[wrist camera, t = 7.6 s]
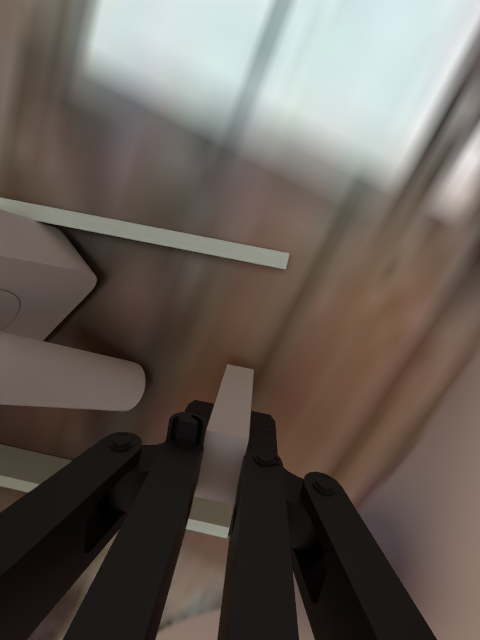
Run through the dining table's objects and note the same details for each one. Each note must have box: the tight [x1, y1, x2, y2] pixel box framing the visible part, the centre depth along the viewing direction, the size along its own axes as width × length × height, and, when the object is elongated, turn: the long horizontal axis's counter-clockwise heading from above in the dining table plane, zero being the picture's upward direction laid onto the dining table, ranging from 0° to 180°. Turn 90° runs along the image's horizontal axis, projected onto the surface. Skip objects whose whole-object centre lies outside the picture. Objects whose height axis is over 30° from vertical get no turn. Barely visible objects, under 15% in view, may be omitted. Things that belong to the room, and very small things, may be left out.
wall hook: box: [0, 209, 145, 411], centre depth 15 cm, size 8×10×10 cm
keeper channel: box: [0, 198, 289, 538], centre depth 18 cm, size 20×18×3 cm
